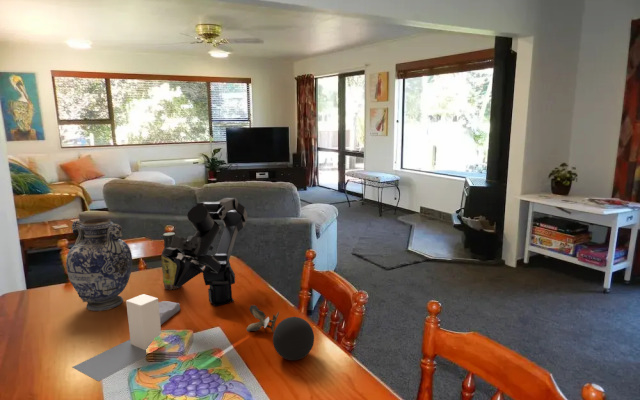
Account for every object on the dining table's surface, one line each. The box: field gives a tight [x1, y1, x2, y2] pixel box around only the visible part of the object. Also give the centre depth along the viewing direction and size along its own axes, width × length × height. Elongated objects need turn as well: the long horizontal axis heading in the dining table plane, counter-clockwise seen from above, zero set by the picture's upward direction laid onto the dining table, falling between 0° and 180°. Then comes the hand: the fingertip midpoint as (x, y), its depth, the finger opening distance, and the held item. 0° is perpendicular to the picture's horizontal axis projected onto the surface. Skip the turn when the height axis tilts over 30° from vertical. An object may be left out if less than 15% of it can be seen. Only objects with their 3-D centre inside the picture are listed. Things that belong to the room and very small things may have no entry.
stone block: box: [158, 300, 181, 325], centre depth 123 cm, size 12×5×10 cm
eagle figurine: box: [246, 304, 280, 333], centre depth 114 cm, size 8×7×9 cm
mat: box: [72, 339, 147, 382], centre depth 103 cm, size 22×11×1 cm, turn 148°
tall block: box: [125, 293, 162, 350], centre depth 107 cm, size 5×6×12 cm
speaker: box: [272, 316, 315, 361], centre depth 100 cm, size 10×10×10 cm
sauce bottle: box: [160, 232, 179, 291], centre depth 146 cm, size 6×6×20 cm
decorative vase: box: [65, 217, 133, 312], centre depth 132 cm, size 21×19×28 cm
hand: (176, 286), depth 114 cm, fingers closed
